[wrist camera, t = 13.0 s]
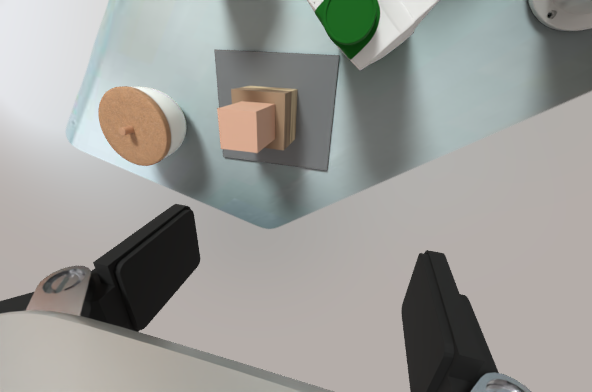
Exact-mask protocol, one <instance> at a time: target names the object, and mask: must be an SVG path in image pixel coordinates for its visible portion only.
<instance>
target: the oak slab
mask: <svg viewBox="0 0 592 392" xmlns="http://www.w3.org/2000/svg"><path fill="white" fill-rule="evenodd" d="M244 88H257V89H270V90H283V91H292V100H291V127H290V144H291V143H292V142H293V141H294V140H295V133H296V111H297V89H288V88H275V87H261V86H246V87H244Z"/></svg>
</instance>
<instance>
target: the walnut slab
mask: <svg viewBox="0 0 592 392" xmlns="http://www.w3.org/2000/svg"><path fill="white" fill-rule="evenodd" d="M231 97H232V104H234V103H238V102H241V101H244V102H258V103H271V104H275V140H273V141H272V142H271V143H269V144H268V145H267V146H266V147H264V148H268V149H276V150H285V149H286V148H287V147H288V146H289V145H290V127H291V100H292V91H283V90H270V89H257V88H244V87H241V88H235V89H231Z"/></svg>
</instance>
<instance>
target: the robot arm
mask: <svg viewBox="0 0 592 392" xmlns="http://www.w3.org/2000/svg"><path fill="white" fill-rule="evenodd" d="M528 2H529V5H530V8H531V10H532V12H533V14H534V15H535V16H536V18H537V19H538V20H539V21H540V22H542V23H543V24H544V25H546V26H547V27H550V28H553V29H555V30H561V31H581V30H586V29H592V0H528ZM548 13H549V14H550V16H549V17H547V15H548ZM199 262H200V254H199V247H198V240H197V233H196V226H195V219H194V214H193V211H192V210H191V209H190V207H188V206H184V205H179V204H175V205H173V206H171V207H170V208H169V209H167V210H166V211H165V212H163V213H162V214H160V215H159V216H157V217H156V218H155V219H153V220H152V221H150V222H149V223H148V224H146V225H145V226H143V227H142V228H141V229H139V230H138V231H136V232H135V233H134V234H132V235H131V236H129V237H128V238H127V239H125V240H124V241H123V242H121V243H120V244H118V245H117V246H116V247H114V248H113V249H111V250H110V251H109V252H107V253H106V254H104V255H103V256H102V257H100V258H99V259H97V260H96V261H95V262H93V263H94V266H95V269H94V270H92V271H91V270H90V269H89V268H87V267H85V266H71V267H67V268H64V269H60V270H58V271H56V272H54V273H52V274H50V275H49V276H47V277H46V278H44V279H43V280H42V281H41V282H40V283H39V285H38V286H37V288H36V290H35V292H32V293H29V294H25V295H21V296H18V297H14V298H11V299H7V300H3V301H0V392H334V391H330V390H327V389H324V388H321V387H318V386H314V385H311V384H308V383H305V382H301V381H298V380H295V379H292V378H288V377H285V376H282V375H279V374H275V373H272V372H269V371H266V370H263V369H259V368H256V367H253V366H249V365H246V364H243V363H239V362H236V361H233V360H230V359H226V358H223V357H219V356H216V355H213V354H210V353H206V352H203V351H200V350H197V349H193V348H190V347H186V346H183V345H180V344H177V343H173V342H170V341H166V340H163V339H160V338H156V337H153V336H150V335H146V334H143V333H139V332H138V331H139V330H142V329H144V328H145V327H146V326H147V325H148V324H149V323H150V321H151V320H152V319H153V318H154V317H155V315H156V314H157V313H158V312H159V311H160V310H161V309H162V307H163V306H164V305H165V304H166V303H167V302H168V300H169V299H170V298H171V297H172V296H173V295H174V293H175V292H176V291H177V290H178V289H179V288H180V286H181V285H182V284H183V283H184V282H185V281H186V279H187V278H188V277H189V276H190V275H191V274H192V272H193V271H194V270H195V269H196V268H197V266H198V265H199ZM402 321H403V330H404V338H405V347H406V356H407V364H408V373H409V381H410V390H411V392H531V391H530V390H529V389H528V388H527V387H526V386H524V385H523V384H521V383H520V382H518V381H517V380H515V379H513V378H511V377H509V376H507V375H504V374H499V373H498V370H497V368H496V365H495V363H494V360H493V358H492V355H491V353H490V351H489V348H488V346H487V343H486V341H485V338H484V336H483V333H482V331H481V328H480V326H479V323H478V321H477V319H476V316H475V314H474V311H473V309H472V306H471V304H470V302H469V300H468V298H467V297H466V296H465V295H461V294H459V291H458V289H457V286H456V283H455V281H454V278H453V275H452V273H451V270H450V267H449V265H448V262H447V259H446V257H445V255H444V254H443V253H438V252H433V251H428V250H427V251H426V252H425V253H424V254H422V253H420V254H419V256H418V259H417V262H416V265H415V268H414V271H413V274H412V277H411V280H410V283H409V286H408V289H407V292H406V296H405V298H404V301H403V304H402Z"/></svg>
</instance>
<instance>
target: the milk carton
mask: <svg viewBox="0 0 592 392" xmlns="http://www.w3.org/2000/svg"><path fill="white" fill-rule="evenodd" d="M307 1H308V2H309V4H310V6H311V7H312V9H313V10H314V12H315V14H316V16H317V17H318V19H319V20H320V22H321V23H322V25H323V26H324V28H325V30H326V32H327V34H328V36H329V37H330V39H331V40H332V41H333V42H334V43H335V44H336V45H337V46H338V48H339V49H340V50H341V51H342V52H343V53H344V55H345V56H346V57H347V58H348V59H349V60H350V61H351V62H352V63H353V64H354V65H355V66H356V67H357V68H358V69H359V70H362V69H364V68H365V67H367V66H368V65H370V64H372V63H374V62H376V61H378V60H380V59H381V58H383V57H384V56H386V55H387V54H388V53H390V52H391V51H392V50H394V49H395V48H396V47H398V46H399V45H400V44H401V43H403V42H404V41H405V40H406V39H407V38H408V37H410V36H411V35H412V34H413V33H414V30H415V28H416V27H417V26H418V24H419V23H420V22H421V21H422V20H423V19H424V17H425V16H426V15H427V14H428V13H429V12H430V10H431V9H432V8H433V7H434V6H435V5H436V4H437V3H438V2H439V0H307Z"/></svg>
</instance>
